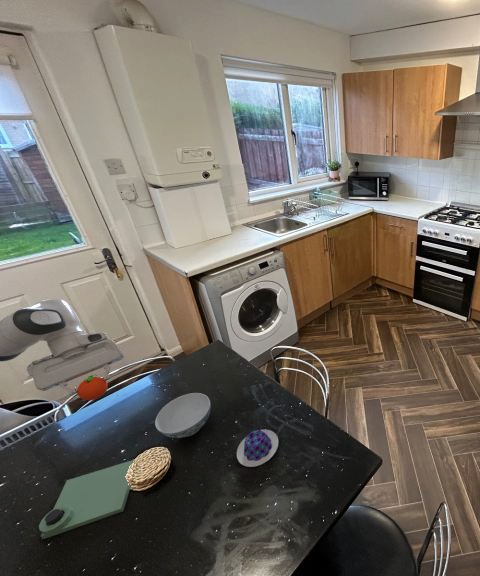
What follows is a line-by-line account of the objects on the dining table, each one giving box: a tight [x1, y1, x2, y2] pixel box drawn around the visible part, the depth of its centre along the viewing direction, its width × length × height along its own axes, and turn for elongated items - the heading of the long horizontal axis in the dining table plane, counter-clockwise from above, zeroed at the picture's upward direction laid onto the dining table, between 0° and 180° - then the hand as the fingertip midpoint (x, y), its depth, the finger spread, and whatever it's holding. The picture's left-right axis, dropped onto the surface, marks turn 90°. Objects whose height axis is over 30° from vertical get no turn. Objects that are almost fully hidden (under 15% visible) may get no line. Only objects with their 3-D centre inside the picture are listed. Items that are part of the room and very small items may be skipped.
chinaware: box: [154, 392, 212, 439], centre depth 99 cm, size 15×15×8 cm
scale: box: [38, 459, 135, 540], centre depth 82 cm, size 16×14×3 cm
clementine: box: [76, 374, 109, 401], centre depth 96 cm, size 8×7×7 cm
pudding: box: [236, 429, 279, 468], centre depth 93 cm, size 12×12×5 cm
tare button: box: [45, 509, 64, 525], centre depth 75 cm, size 3×3×2 cm
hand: (91, 386), depth 95 cm, fingers closed on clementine, 6 cm apart
